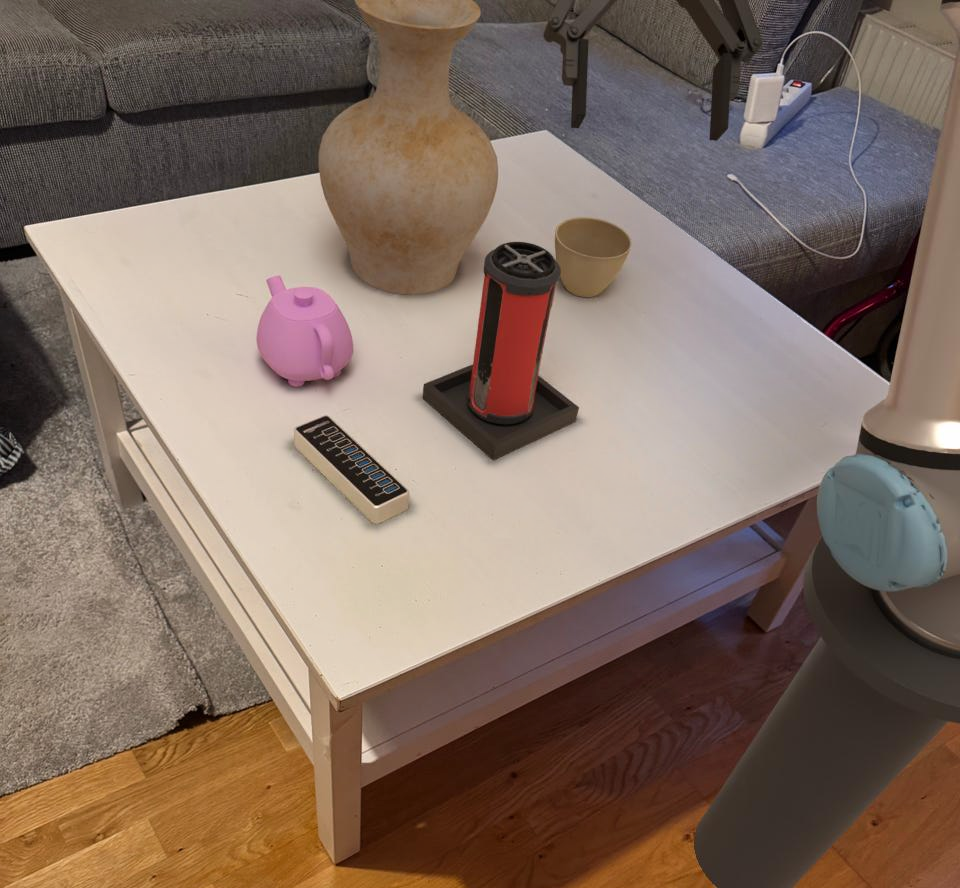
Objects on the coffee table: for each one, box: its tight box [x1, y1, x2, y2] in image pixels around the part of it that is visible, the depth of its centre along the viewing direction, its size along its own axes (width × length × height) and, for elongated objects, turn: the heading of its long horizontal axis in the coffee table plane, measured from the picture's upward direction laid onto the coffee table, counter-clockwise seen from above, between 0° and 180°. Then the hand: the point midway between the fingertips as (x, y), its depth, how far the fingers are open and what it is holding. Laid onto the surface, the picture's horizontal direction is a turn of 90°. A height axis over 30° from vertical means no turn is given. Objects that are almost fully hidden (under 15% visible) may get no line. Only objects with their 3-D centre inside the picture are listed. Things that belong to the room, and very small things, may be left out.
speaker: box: [467, 241, 561, 425], centre depth 97 cm, size 8×8×18 cm
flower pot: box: [554, 216, 633, 298], centre depth 120 cm, size 10×10×7 cm
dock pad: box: [422, 363, 580, 461], centre depth 104 cm, size 13×13×2 cm
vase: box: [317, 0, 499, 296], centre depth 110 cm, size 22×22×30 cm
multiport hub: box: [293, 414, 410, 525], centre depth 94 cm, size 4×14×2 cm, turn 41°
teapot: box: [256, 274, 354, 387], centre depth 102 cm, size 10×15×9 cm
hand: (649, 128), depth 85 cm, fingers open, 13 cm apart
